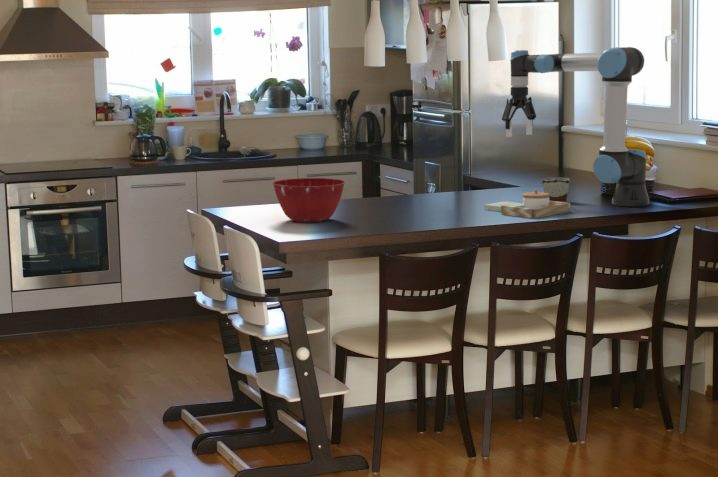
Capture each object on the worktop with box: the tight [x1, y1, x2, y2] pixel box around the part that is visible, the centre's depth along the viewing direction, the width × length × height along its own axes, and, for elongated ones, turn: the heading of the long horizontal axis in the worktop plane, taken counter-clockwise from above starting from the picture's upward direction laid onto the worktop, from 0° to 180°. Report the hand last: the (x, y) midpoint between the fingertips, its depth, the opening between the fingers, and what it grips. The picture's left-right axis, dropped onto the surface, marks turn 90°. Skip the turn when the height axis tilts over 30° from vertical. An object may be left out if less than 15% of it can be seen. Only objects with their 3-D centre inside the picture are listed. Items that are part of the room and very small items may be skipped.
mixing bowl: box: [272, 177, 346, 224], centre depth 454 cm, size 28×28×15 cm
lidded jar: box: [521, 189, 550, 209], centre depth 464 cm, size 11×11×9 cm
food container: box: [540, 176, 571, 203], centre depth 495 cm, size 12×6×10 cm, turn 84°
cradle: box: [500, 201, 571, 219], centre depth 464 cm, size 16×23×4 cm
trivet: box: [483, 200, 524, 213], centre depth 475 cm, size 13×13×2 cm
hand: (519, 135), depth 503 cm, fingers open, 13 cm apart
